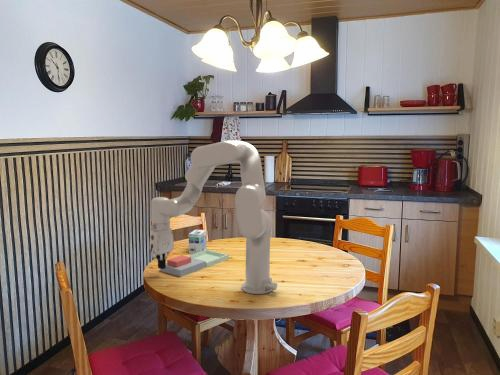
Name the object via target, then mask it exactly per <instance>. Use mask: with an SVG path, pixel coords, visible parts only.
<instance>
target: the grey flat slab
mask: <svg viewBox="0 0 500 375" xmlns="http://www.w3.org/2000/svg"><path fill="white" fill-rule="evenodd" d="M205 268H207V267H206V261H203V260H199V259H195V258H191V263H188V264H186V265H183V266H180V267H177V268H176V267H173V266H169V265H167V262H166V268H165V269H160V268H159V271H160V272H163V273H166V274H169V275H173V276H176V277H179V278H181V277H184V276H187V275H189V274H193V273H196V272H198V271H200V270H203V269H205Z"/></svg>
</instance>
